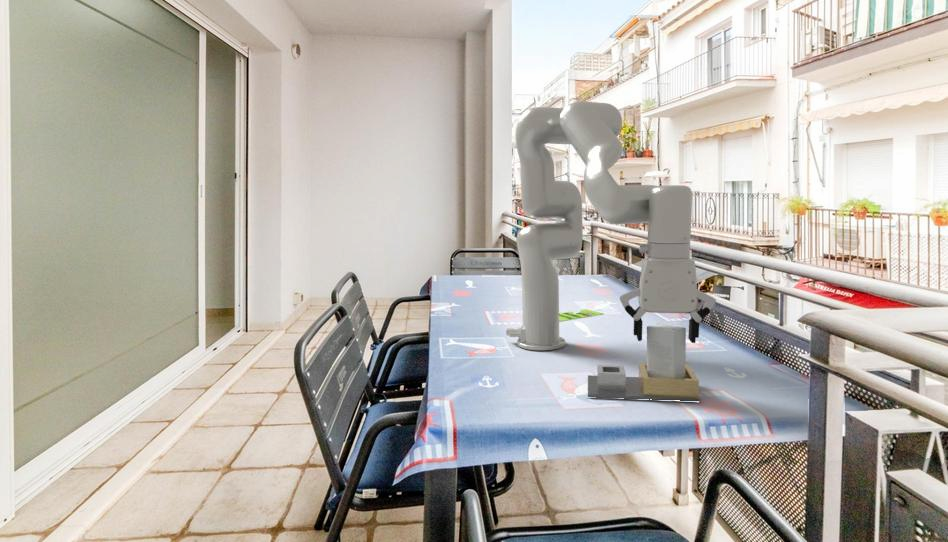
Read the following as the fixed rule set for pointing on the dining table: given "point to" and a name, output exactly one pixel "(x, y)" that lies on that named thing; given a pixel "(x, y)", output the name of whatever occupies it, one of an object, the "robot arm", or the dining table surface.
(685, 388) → the plate
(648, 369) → the skincare box
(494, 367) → the dining table surface
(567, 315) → the door hanger
